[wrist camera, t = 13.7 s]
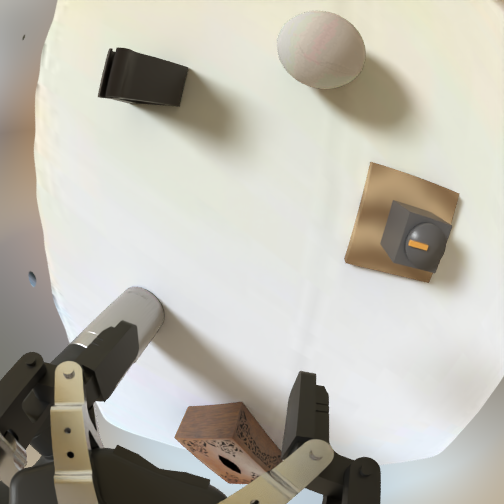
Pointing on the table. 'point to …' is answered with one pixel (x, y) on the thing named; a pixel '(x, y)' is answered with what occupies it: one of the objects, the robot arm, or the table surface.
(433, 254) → the knob
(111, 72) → the phone stand
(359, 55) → the eye model
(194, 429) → the tissue box cover
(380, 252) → the base plate
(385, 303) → the table surface
